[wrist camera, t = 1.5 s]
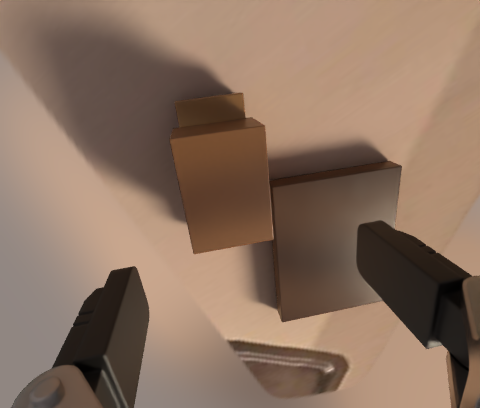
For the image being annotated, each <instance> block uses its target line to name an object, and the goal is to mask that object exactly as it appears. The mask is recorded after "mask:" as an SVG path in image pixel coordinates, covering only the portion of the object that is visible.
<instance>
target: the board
mask: <svg viewBox="0 0 480 408" xmlns="http://www.w3.org/2000/svg"><path fill="white" fill-rule="evenodd" d="M401 169H402V166H401V165H398V164H396V163H393V162H391V161H387V162H381V163H375V164H369V165H362V166H356V167H350V168H344V169H338V170H332V171H326V172H320V173H313V174H307V175H301V176H295V177H289V178H283V179H277V180H271V181H269V184H270V197H271V210H272V223H273V236H274V239H273V240H272V246H273V258H274V271H275V283H276V296H277V309H278V313H279V315H280V318H281V321H282V322H286V321H291V320H296V319H300V318H305V317H310V316H314V315H319V314H324V313H328V312H333V311H338V310H342V309H347V308H352V307H357V306H361V305H366V304H371V303H375V302H380V301H383V300H382V299H381V298H380V296H379V295H378V294H377V293H376V292H375V291H374V290H373V289H372V287H371V286H370V285H369V284H368V283H367V282H366V281H365V280H364V279H363V277H362V276H361V275H360V273H359V271H358V268H357V264H356V251H357V230H358V226H359V225H360V224H363V223H368V222H374V221H379V220H382V221H384V222H385V223H387V224H388V225H390V226H391V227H392V228H394V229H395V221H396V212H397V203H398V195H399V186H400V178H401Z"/></svg>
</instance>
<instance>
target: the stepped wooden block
mask: <svg viewBox="0 0 480 408" xmlns="http://www.w3.org/2000/svg"><path fill="white" fill-rule="evenodd" d="M175 107H176V112H177V118H178V123H179V128H173V130H172V133H171V136H170V145H171V150H172V154H173V159H174V164H175V169H176V173H177V178H178V183H179V187H180V192H181V197H182V202H183V206H184V211H185V216H186V220H187V225H188V230H189V235H190V239H191V244H192V249H193V253H194V254H198V253H204V252H209V251H214V250H220V249H225V248H231V247H236V246H242V245H247V244H252V243H258V242H263V241H269V240H273V239H274V236H273V223H272V210H271V197H270V184H269V171H268V158H267V145H266V132H265V125H263V124H261V123H260V122H258V121H257V120H255V119H253V118H252V117H250V118H245V108H244V98H243V93H233V94H225V95H218V96H210V97H202V98H195V99H187V100H180V101H175Z"/></svg>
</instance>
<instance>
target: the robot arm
mask: <svg viewBox="0 0 480 408" xmlns="http://www.w3.org/2000/svg"><path fill="white" fill-rule="evenodd" d="M356 264H357V268H358V271H359V273H360V275H361V276H362V277H363V279H364V280H365V281H366V282H367V283H368V284H369V285H370V286H371V287H372V289H373V290H374V291H375V292H376V293H377V294H378V295H379V296H380V298H381V299H382V300H383V301H384V302H385V303H386V304H387V305H388V306H389V308H390V309H391V310H392V311H393V312H394V313H395V314H396V315H397V316H398V318H399V319H400V320H401V321H402V322H403V323H404V324H405V325H406V327H407V328H408V329H409V330H410V331H411V332H412V333H413V334H414V335H415V337H416V338H417V339H418V340H419V341H420V342H421V343H422V344H423V346H424V347H425V348H426V349H429V348H433V347H437V346H441V345H443V346H444V347H445V348H447V350H448V352H447V356H446V362H447V371H448V381H449V390H450V399H451V408H480V276H471V275H470V274H469V273H467V272H466V271H464V270H463V269H461V268H460V267H458V266H457V265H455V264H454V263H452V262H451V261H450V260H448V259H447V258H445V257H444V256H442V255H441V254H439V253H436V251H435V250H433V249H432V248H430V247H429V246H426V244H424V243H423V242H421V241H420V240H419V239H417V238H416V237H414V236H412V235H409V234H406V233H404V232H401V231H397V230H395V229H394V228H392V227H391V226H390V225H388V224H387V223H385V222H384V221H382V220H379V221H374V222H368V223H363V224H360V225H359V226H358V230H357V251H356ZM148 323H149V306H148V302H147V298H146V295H145V292H144V289H143V286H142V282H141V279H140V276H139V273H138V270H137V268H136V267H135V266H133V267H128V268H123V269H117V270H113V271H111V272H110V274H109V277H108V279H107V281H106V284H105V286H104V287H103V288H98V289H96V290H95V291H94V292H93V293H92V294H91V295H90V296H89V297H88V298H87V299H86V300H85V301H84V304H83V305H82V307H81V309H80V311H79V316H77V318H76V320H75V322H74V324H73V327H72V328H71V330H70V332H69V334H68V336H67V338H66V340H65V343H64V344H63V346H62V348H61V350H60V352H59V355H58V357H57V359H56V361H55V363H54V365H53V367H52V369H50V370H48V371H46V372H44V373H42V374H41V375H39V376H38V377H36V378H35V379H34V380H32V381H31V382H30V383H29V384H28V385H27V386H26V387H25V388H24V389H23V390H22V391H21V392H20V394H19V395H18V396H17V398H16V399H15V401H14V403H13V405H12V408H134V404H135V398H136V392H137V386H138V380H139V375H140V369H141V363H142V358H143V352H144V346H145V341H146V335H147V328H148Z"/></svg>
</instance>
